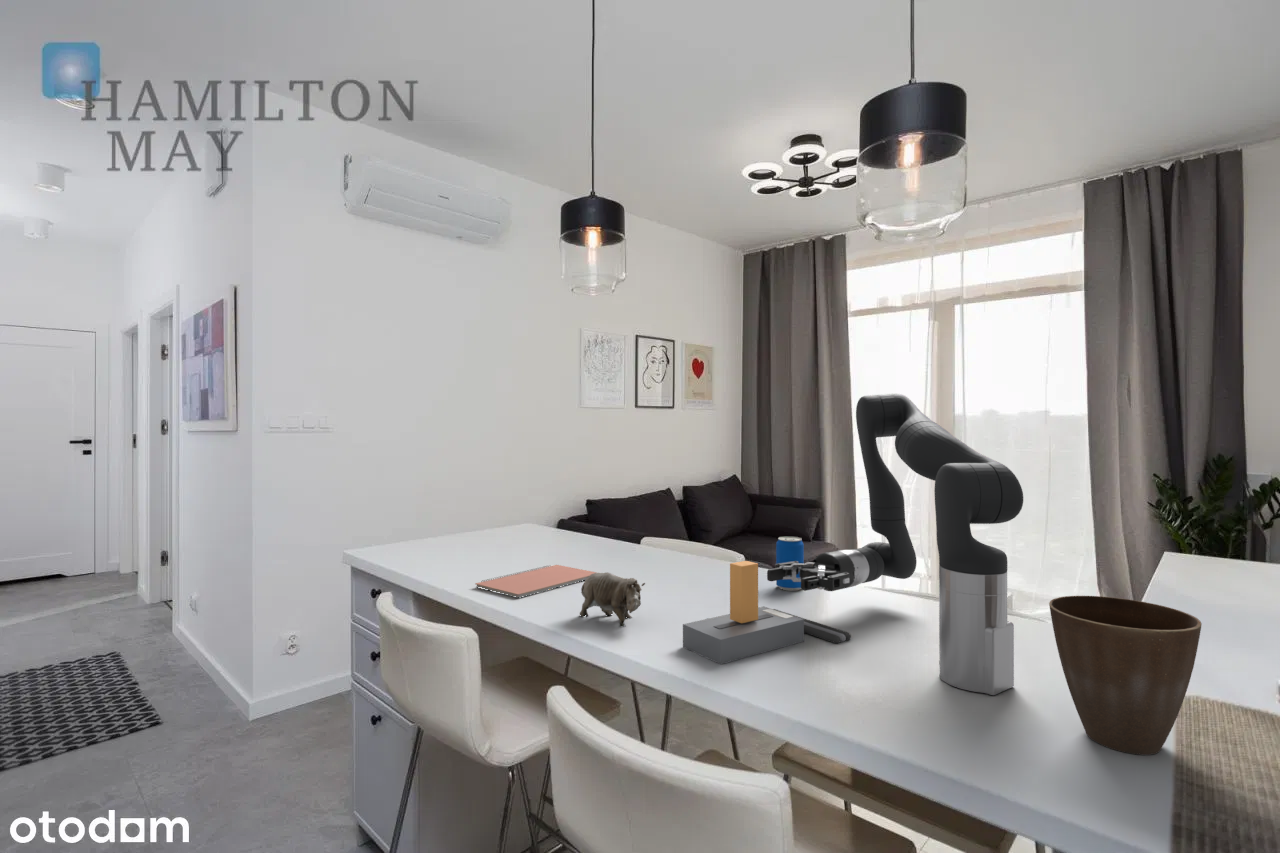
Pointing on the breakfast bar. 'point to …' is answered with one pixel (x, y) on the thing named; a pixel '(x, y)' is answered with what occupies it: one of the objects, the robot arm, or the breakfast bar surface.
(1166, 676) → the plant pot
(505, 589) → the notebook
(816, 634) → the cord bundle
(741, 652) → the breaker box
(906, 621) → the breakfast bar surface
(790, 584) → the beverage can
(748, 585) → the handle
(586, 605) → the rhinoceros figurine
